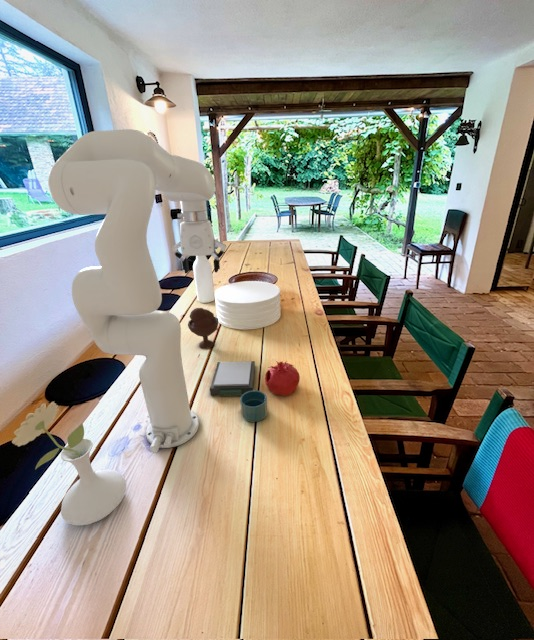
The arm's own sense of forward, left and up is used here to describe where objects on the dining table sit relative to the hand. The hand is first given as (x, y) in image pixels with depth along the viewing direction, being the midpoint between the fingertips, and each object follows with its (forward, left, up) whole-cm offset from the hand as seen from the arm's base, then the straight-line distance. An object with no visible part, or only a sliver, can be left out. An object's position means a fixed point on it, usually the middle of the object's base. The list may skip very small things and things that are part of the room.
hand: (201, 271), depth 105 cm
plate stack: (+29, -12, -29) cm, 42 cm away
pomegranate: (-24, -25, -29) cm, 45 cm away
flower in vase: (-60, +12, -29) cm, 68 cm away
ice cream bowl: (+3, +2, -29) cm, 29 cm away
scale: (-20, -11, -29) cm, 37 cm away
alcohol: (+50, +11, -29) cm, 59 cm away
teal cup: (-35, -18, -29) cm, 49 cm away
